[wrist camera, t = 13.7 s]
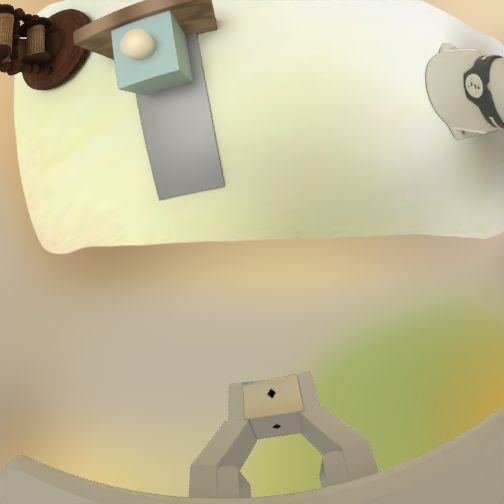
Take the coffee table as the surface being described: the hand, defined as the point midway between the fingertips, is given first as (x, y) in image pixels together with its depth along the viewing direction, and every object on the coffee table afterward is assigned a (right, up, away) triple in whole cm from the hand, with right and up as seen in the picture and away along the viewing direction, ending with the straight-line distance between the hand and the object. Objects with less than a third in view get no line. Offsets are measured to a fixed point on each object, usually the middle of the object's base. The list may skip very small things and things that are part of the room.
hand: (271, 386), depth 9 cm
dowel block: (-13, +31, +21) cm, 40 cm away
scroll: (-32, +38, +17) cm, 53 cm away
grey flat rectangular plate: (-12, +24, +25) cm, 37 cm away
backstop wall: (-14, +36, +19) cm, 43 cm away
